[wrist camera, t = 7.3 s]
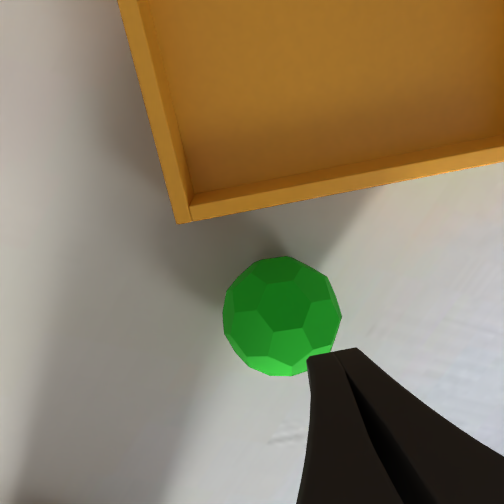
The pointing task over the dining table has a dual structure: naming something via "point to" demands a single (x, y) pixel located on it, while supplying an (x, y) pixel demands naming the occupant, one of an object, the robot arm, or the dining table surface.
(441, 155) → the tray
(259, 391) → the dining table surface
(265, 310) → the polyhedron
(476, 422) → the dining table surface
